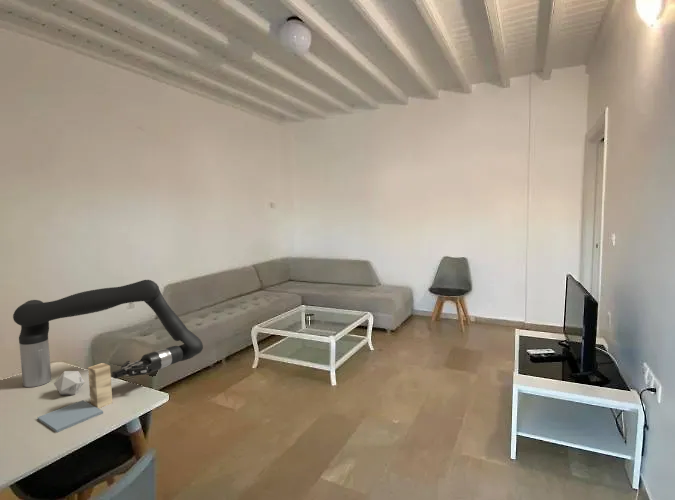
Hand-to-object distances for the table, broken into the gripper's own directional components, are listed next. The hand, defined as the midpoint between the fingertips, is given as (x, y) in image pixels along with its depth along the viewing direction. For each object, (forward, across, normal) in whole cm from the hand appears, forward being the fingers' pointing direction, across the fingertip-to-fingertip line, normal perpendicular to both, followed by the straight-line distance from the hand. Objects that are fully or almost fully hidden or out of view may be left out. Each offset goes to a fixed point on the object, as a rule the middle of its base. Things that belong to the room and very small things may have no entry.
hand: (113, 375), depth 146 cm
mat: (+15, 0, +9) cm, 17 cm away
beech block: (+5, 0, +9) cm, 10 cm away
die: (+7, -19, +9) cm, 22 cm away
